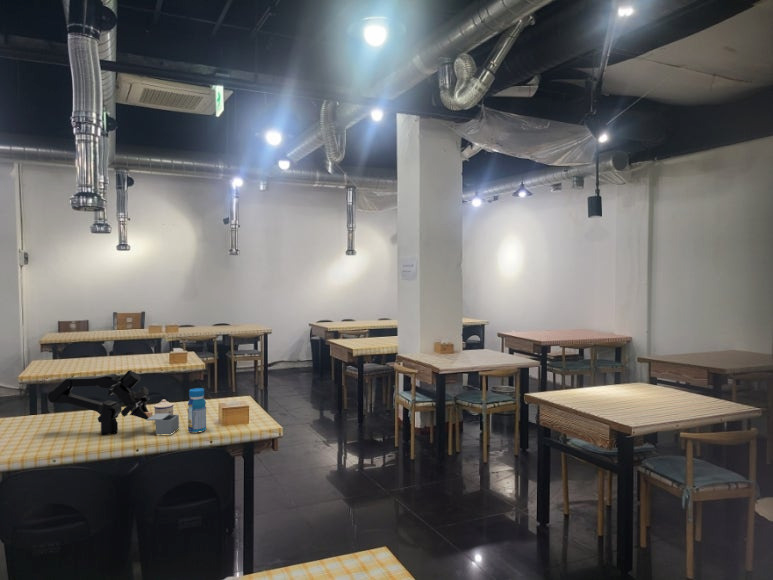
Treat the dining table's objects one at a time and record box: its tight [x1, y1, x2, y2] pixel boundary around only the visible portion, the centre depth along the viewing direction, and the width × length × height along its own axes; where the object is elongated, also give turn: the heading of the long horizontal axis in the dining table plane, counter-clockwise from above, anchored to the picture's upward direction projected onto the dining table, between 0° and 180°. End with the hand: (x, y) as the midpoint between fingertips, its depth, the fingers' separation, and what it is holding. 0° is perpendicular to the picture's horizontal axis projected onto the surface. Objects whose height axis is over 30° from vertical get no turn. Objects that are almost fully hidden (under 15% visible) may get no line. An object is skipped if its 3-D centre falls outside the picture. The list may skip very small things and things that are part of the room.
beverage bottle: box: [187, 387, 207, 433], centre depth 248 cm, size 8×8×20 cm
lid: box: [144, 411, 170, 422], centre depth 246 cm, size 11×10×2 cm
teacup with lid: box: [153, 399, 174, 425], centre depth 264 cm, size 12×9×12 cm
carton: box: [155, 414, 180, 435], centre depth 246 cm, size 7×10×7 cm
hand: (148, 418), depth 246 cm, fingers closed on lid, 2 cm apart
